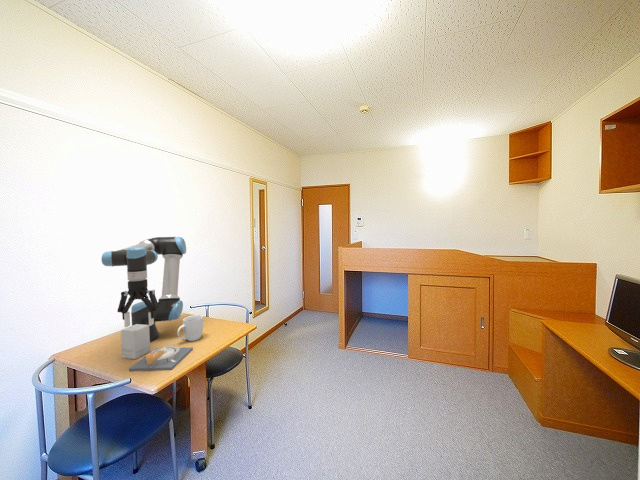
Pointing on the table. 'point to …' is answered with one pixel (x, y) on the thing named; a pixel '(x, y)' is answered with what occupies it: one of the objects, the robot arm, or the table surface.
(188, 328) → the mug
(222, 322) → the table surface
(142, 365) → the panel
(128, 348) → the supplement box
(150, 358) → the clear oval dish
